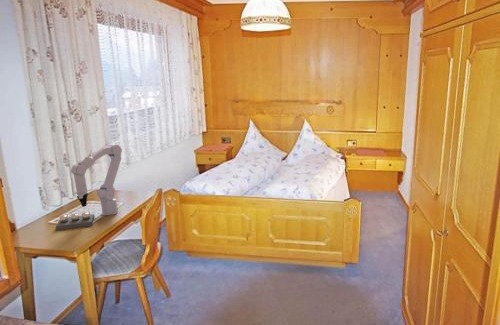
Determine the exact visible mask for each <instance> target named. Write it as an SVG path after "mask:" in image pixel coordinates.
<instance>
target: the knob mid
mask: <svg viewBox="0 0 500 325" xmlns="http://www.w3.org/2000/svg"><path fill="white" fill-rule="evenodd" d="M79 216H80V214H79V213H77V212H75V213H72V214H71V215H70V217H71V220H72V221H77V220H79V219H80V218H79Z"/></svg>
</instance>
